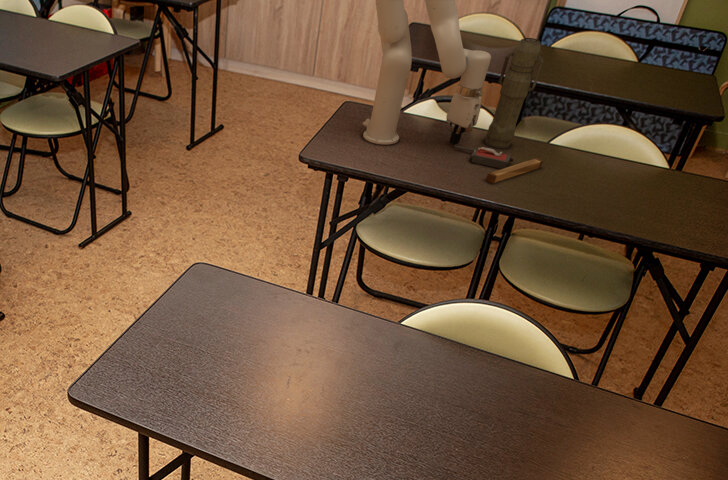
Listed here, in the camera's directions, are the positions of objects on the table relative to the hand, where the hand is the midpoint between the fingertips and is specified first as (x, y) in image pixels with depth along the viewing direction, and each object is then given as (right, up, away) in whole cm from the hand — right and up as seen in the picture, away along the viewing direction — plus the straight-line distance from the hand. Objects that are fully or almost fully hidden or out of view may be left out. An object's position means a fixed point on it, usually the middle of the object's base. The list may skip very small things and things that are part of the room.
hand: (453, 143), depth 242 cm
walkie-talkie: (+6, -8, -7) cm, 13 cm away
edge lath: (+14, -15, -16) cm, 26 cm away
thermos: (+17, +1, +4) cm, 17 cm away
